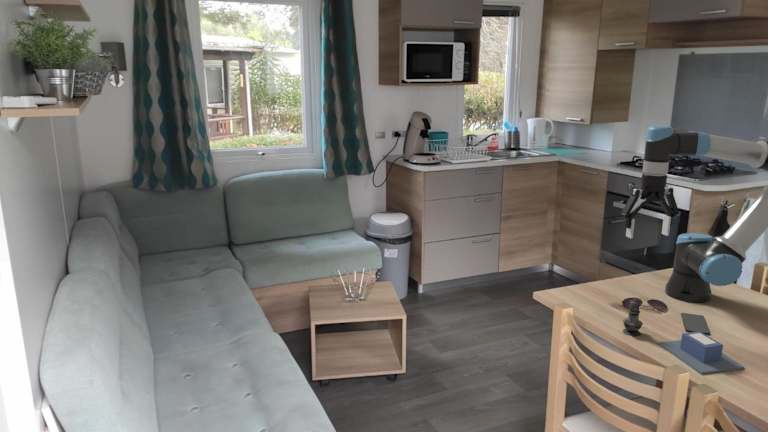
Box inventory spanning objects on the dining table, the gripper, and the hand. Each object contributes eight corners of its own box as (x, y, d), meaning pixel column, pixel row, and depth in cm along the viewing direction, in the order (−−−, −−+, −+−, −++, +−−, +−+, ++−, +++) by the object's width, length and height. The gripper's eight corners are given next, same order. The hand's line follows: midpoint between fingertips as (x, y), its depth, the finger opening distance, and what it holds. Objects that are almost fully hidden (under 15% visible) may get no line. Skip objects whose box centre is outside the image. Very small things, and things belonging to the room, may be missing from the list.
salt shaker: (631, 338, 183) (635, 302, 179) (617, 330, 188) (621, 295, 185) (645, 334, 185) (650, 299, 182) (631, 327, 190) (635, 292, 187)
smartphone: (703, 315, 198) (710, 333, 184) (703, 317, 198) (709, 336, 184) (680, 312, 200) (685, 330, 186) (680, 314, 200) (685, 332, 187)
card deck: (720, 360, 168) (723, 344, 166) (703, 363, 166) (705, 347, 165) (696, 346, 176) (699, 330, 175) (680, 348, 174) (682, 333, 173)
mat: (698, 339, 181) (698, 337, 181) (744, 368, 164) (744, 366, 164) (658, 344, 178) (658, 342, 178) (701, 374, 161) (701, 372, 161)
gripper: (680, 170, 197) (672, 230, 202) (613, 173, 192) (607, 235, 197) (696, 174, 190) (687, 236, 195) (627, 177, 185) (620, 241, 190)
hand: (647, 236), depth 196 cm, fingers open, 13 cm apart
